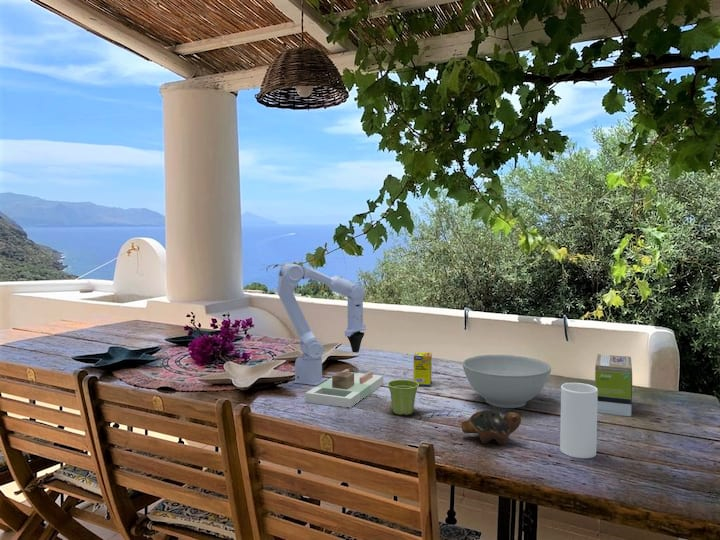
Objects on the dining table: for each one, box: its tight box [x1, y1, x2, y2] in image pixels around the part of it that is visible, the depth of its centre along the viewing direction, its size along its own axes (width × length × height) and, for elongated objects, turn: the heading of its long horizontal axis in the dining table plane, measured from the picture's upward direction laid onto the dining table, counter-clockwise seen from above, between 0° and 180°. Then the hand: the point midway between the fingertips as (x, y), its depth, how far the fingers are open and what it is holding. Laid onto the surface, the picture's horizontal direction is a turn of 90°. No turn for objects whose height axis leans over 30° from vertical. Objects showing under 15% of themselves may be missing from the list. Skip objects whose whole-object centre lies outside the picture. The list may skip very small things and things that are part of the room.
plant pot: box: [387, 379, 420, 416], centre depth 160 cm, size 9×9×9 cm
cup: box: [559, 382, 598, 459], centre depth 130 cm, size 8×8×16 cm
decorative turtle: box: [460, 409, 522, 446], centre depth 137 cm, size 10×15×8 cm, turn 80°
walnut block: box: [331, 371, 355, 389], centre depth 177 cm, size 6×6×4 cm
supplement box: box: [413, 351, 433, 388], centre depth 188 cm, size 6×6×11 cm
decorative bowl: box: [462, 354, 552, 409], centre depth 168 cm, size 27×27×12 cm
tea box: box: [594, 353, 633, 417], centre depth 162 cm, size 15×10×15 cm, turn 154°
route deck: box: [304, 368, 385, 409], centre depth 179 cm, size 16×28×5 cm, turn 156°
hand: (355, 352), depth 198 cm, fingers closed
